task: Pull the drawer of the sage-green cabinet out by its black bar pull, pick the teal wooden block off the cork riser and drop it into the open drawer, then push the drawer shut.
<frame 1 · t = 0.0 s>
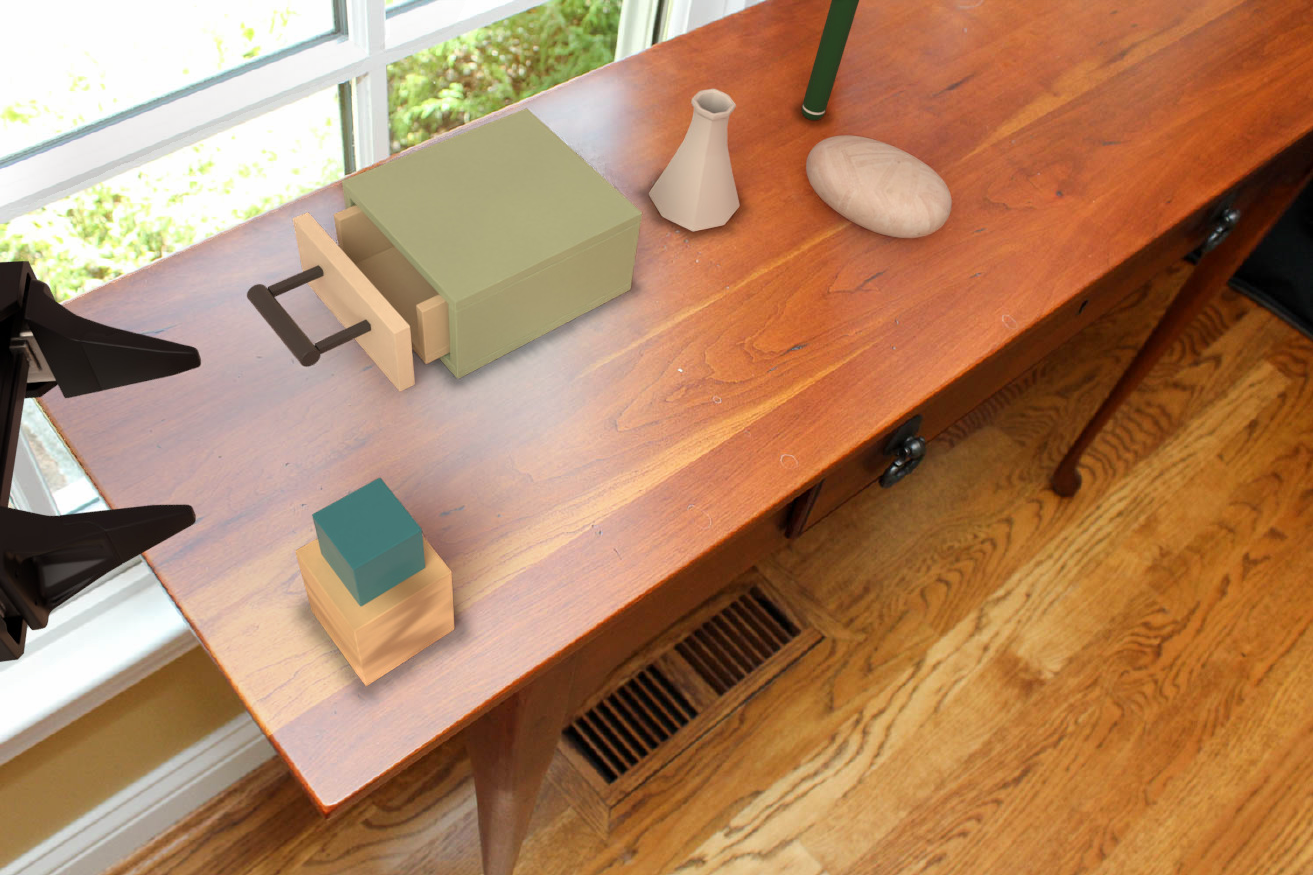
hand: (196, 431, 50), 16 cm above the table, tool horizontal, fingers open, 9 cm apart
drawer: (406, 277, 75), point 4 cm above the table, slide at 3.0 cm
decorative stone: (867, 211, 92), on the table
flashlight: (811, 116, 99), on the table
cabinet: (493, 276, 81), on the table
riser: (383, 620, 63), on the table
flask: (693, 204, 89), on the table
block: (373, 560, 58), point 7 cm above the table, touching riser
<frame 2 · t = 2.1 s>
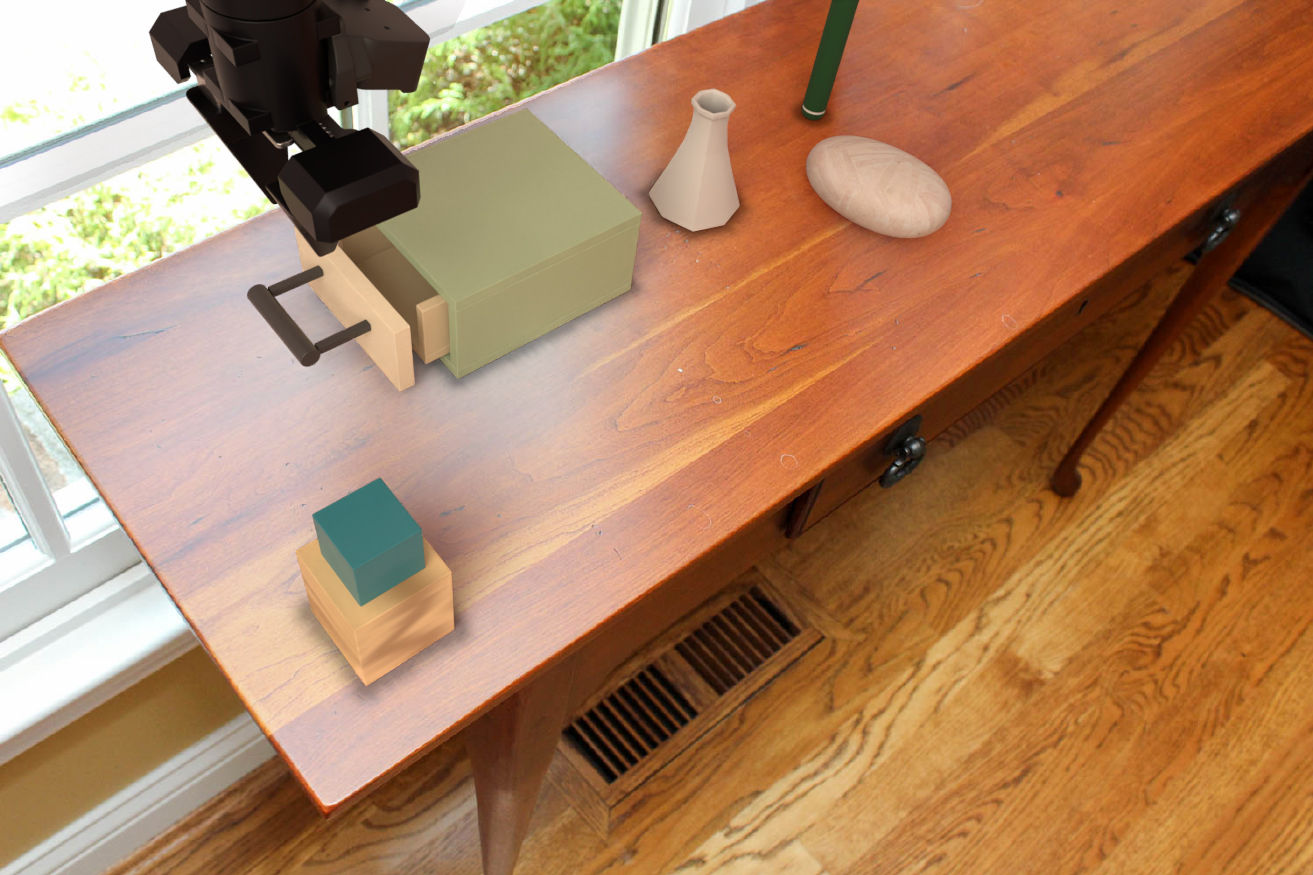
hand: (302, 226, 65), 12 cm above the table, tool pointing down, fingers open, 5 cm apart
nothing on the table moved.
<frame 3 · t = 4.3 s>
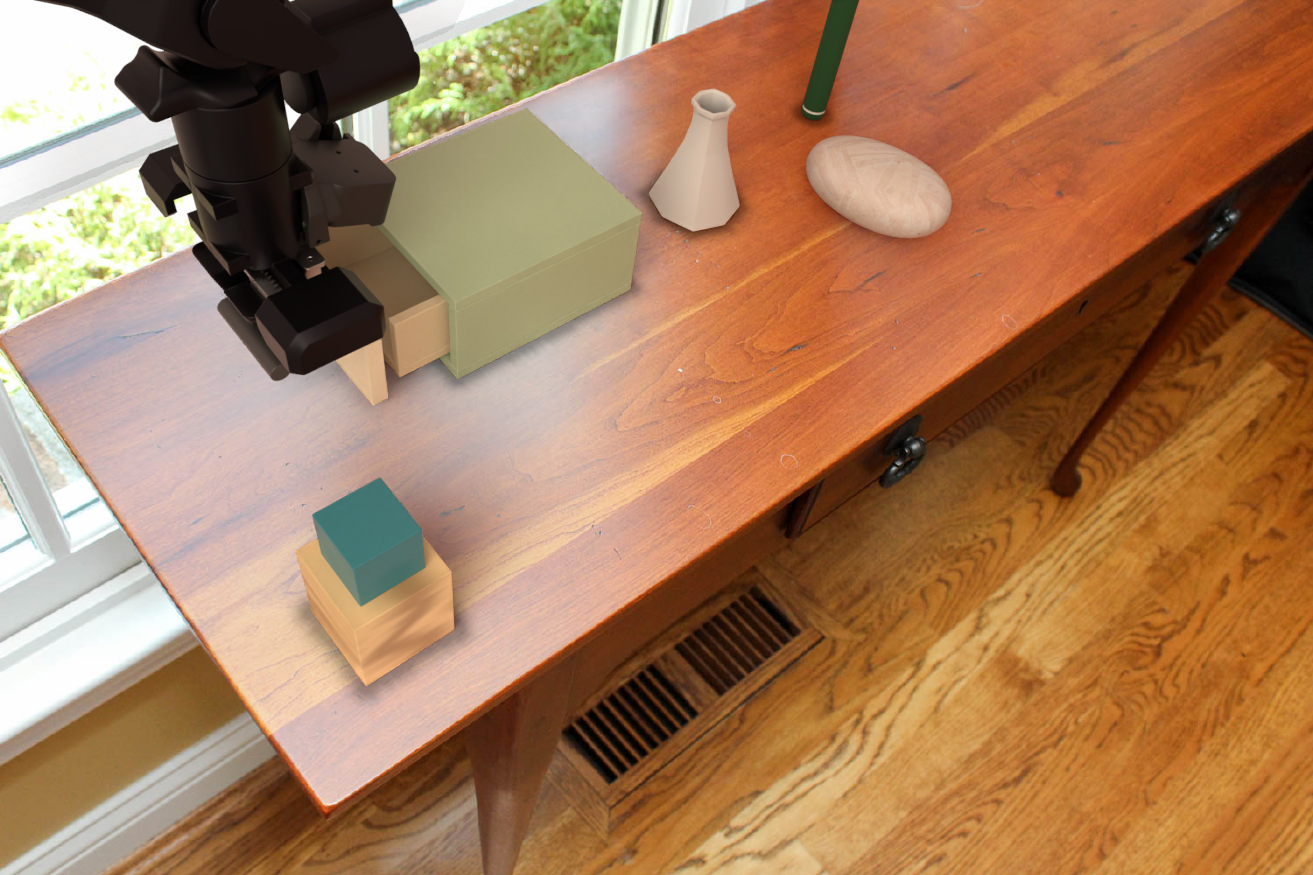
hand: (280, 339, 70), 3 cm above the table, tool pointing down, fingers closed, pressing on drawer
drawer: (379, 289, 74), point 4 cm above the table, slide at 5.1 cm, touching gripper
everything else where it was.
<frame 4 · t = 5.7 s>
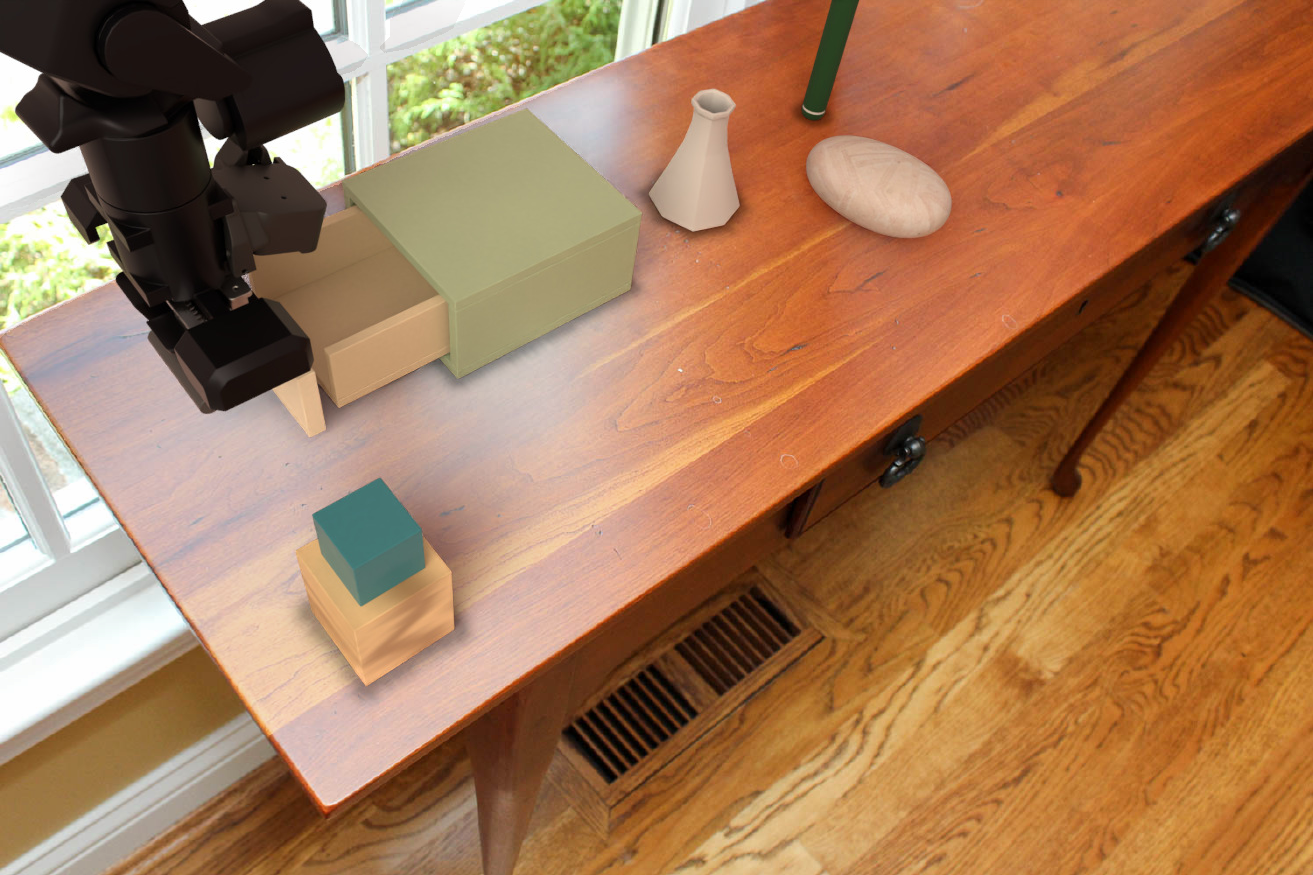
hand: (213, 369, 68), 4 cm above the table, tool pointing down, fingers closed
drawer: (319, 317, 71), point 4 cm above the table, slide at 9.7 cm
everything else where it was.
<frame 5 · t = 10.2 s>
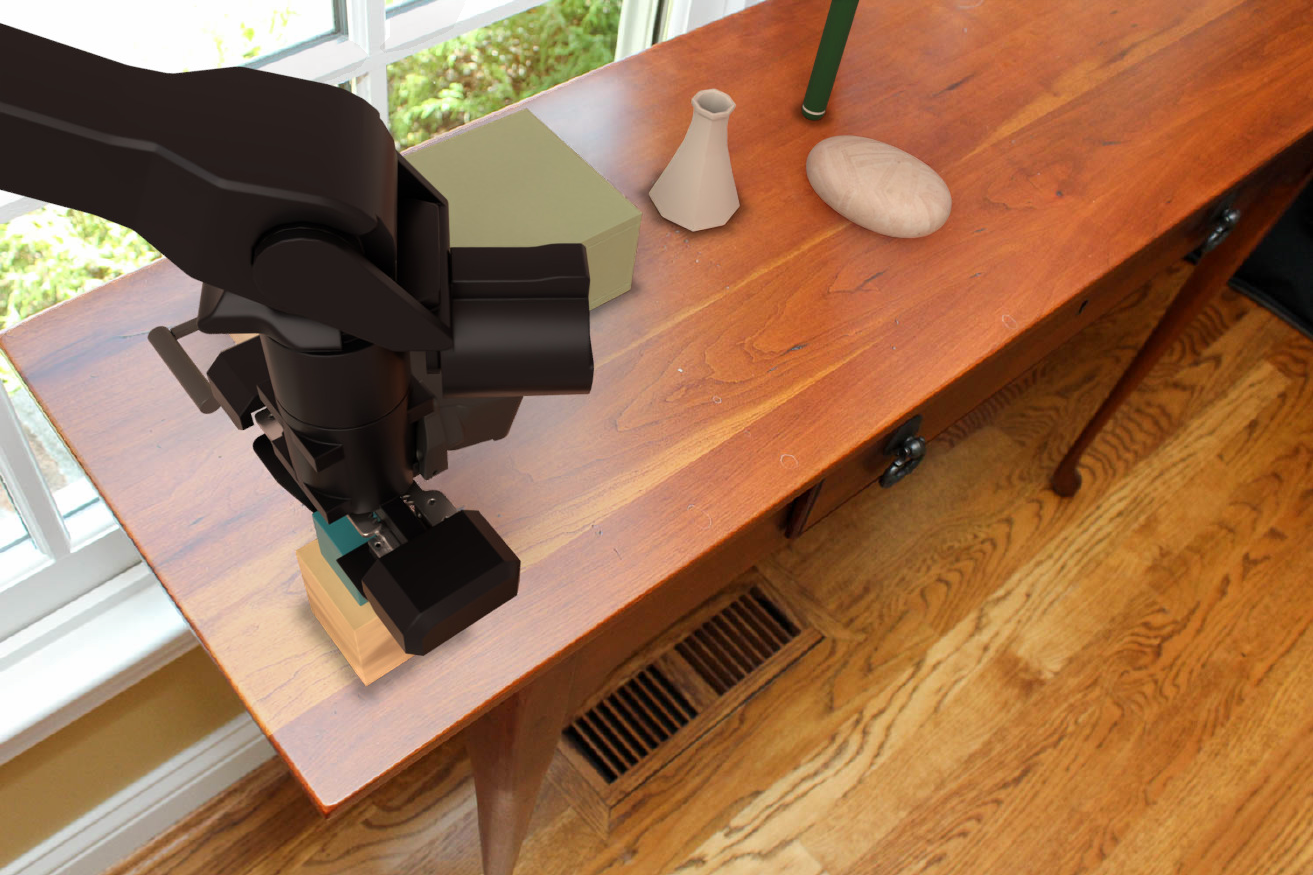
hand: (373, 560, 58), 7 cm above the table, tool pointing down, fingers closed on block, 4 cm apart
block: (373, 560, 58), point 7 cm above the table, touching gripper, riser
everything else where it was.
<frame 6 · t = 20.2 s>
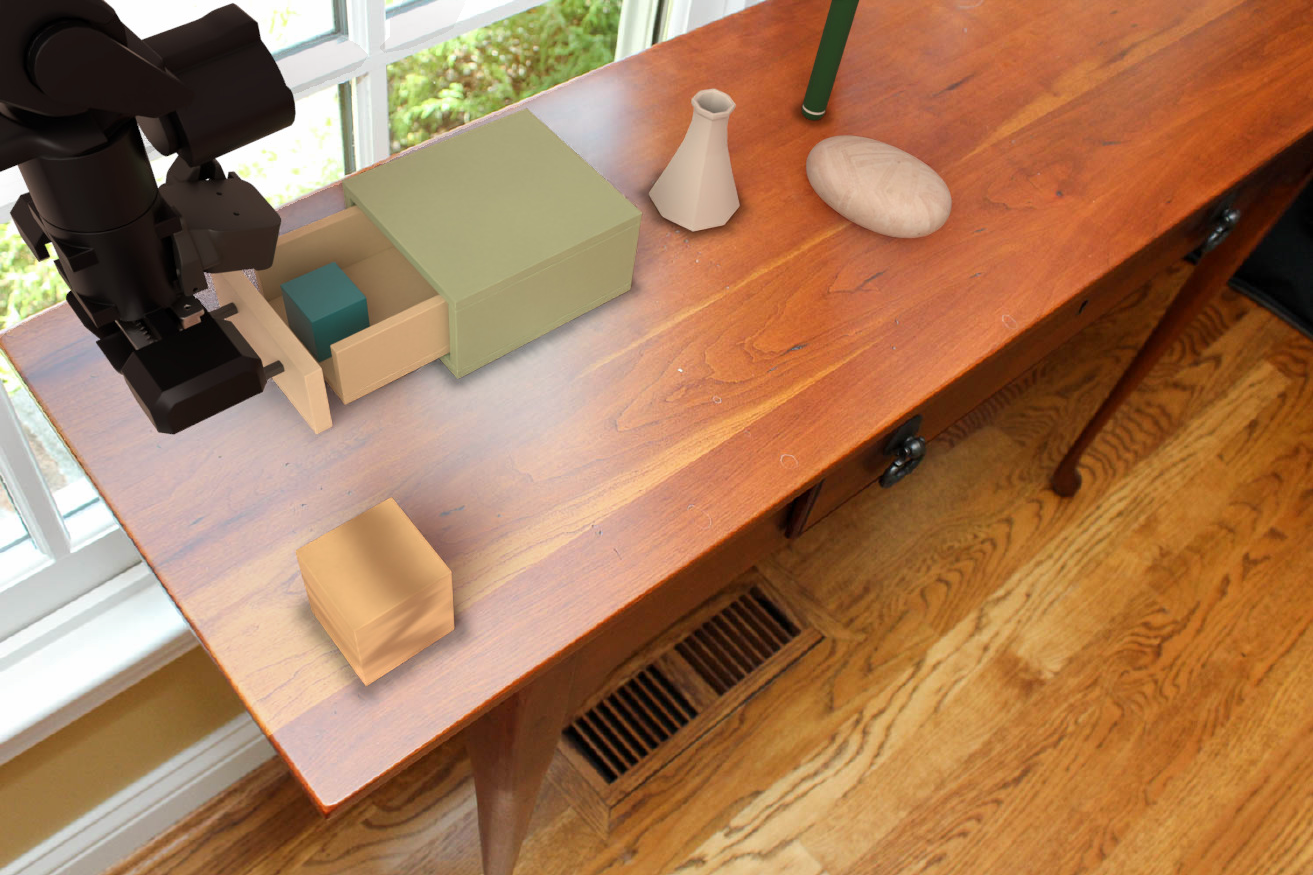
hand: (170, 387, 67), 4 cm above the table, tool pointing down, fingers closed, pressing on drawer
drawer: (325, 314, 72), point 4 cm above the table, slide at 9.2 cm, touching block, gripper
block: (330, 332, 73), point 2 cm above the table, touching drawer
everything else where it was.
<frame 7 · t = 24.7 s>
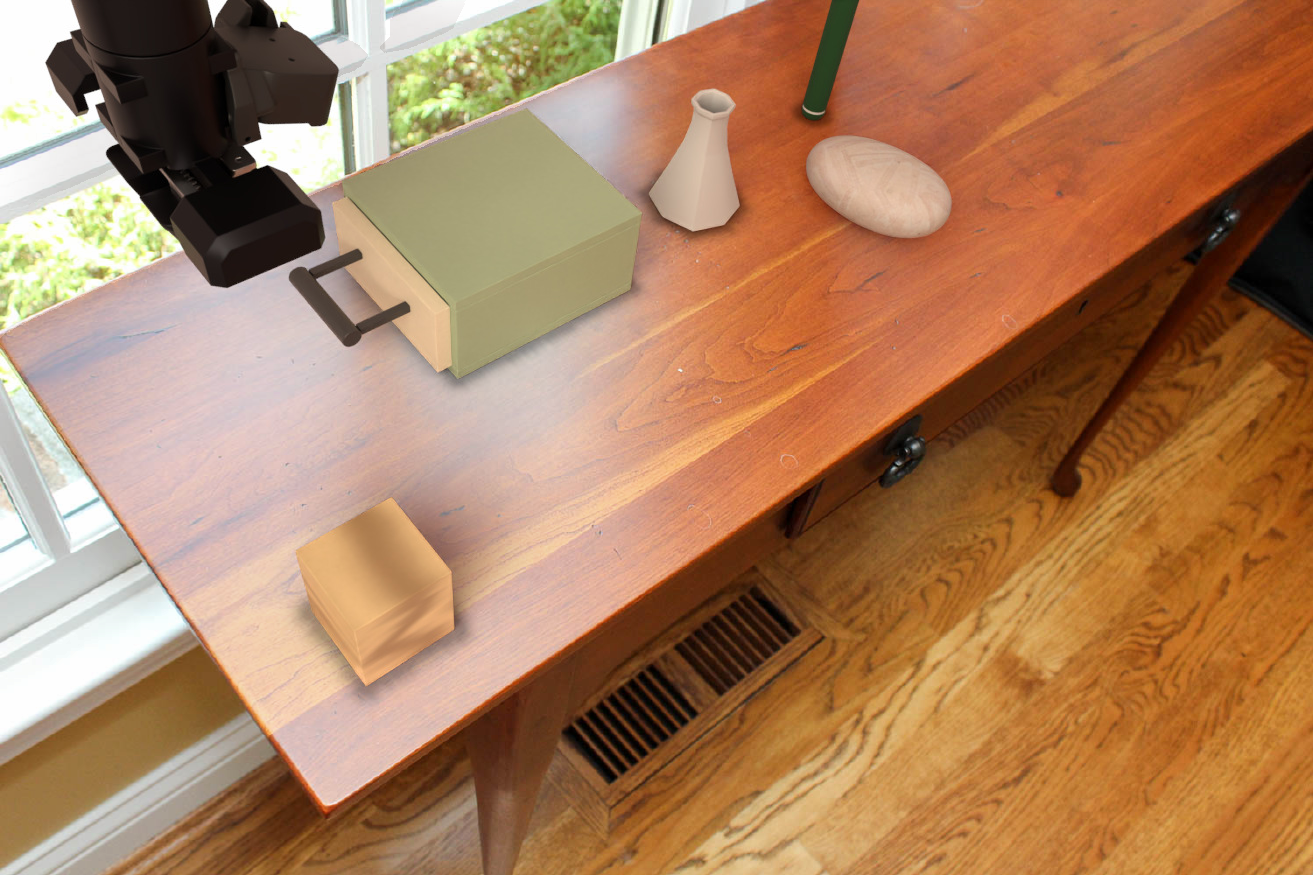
hand: (214, 262, 62), 12 cm above the table, tool pointing down, fingers closed
drawer: (442, 261, 76), point 4 cm above the table, slide at 0.0 cm, touching block
block: (444, 278, 77), point 2 cm above the table, touching drawer
everything else where it was.
at the end: block inside the target area in the cabinet (4.3 cm from its centre), point 2.1 cm above the cabinet's base; drawer slide at 0.0 cm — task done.
